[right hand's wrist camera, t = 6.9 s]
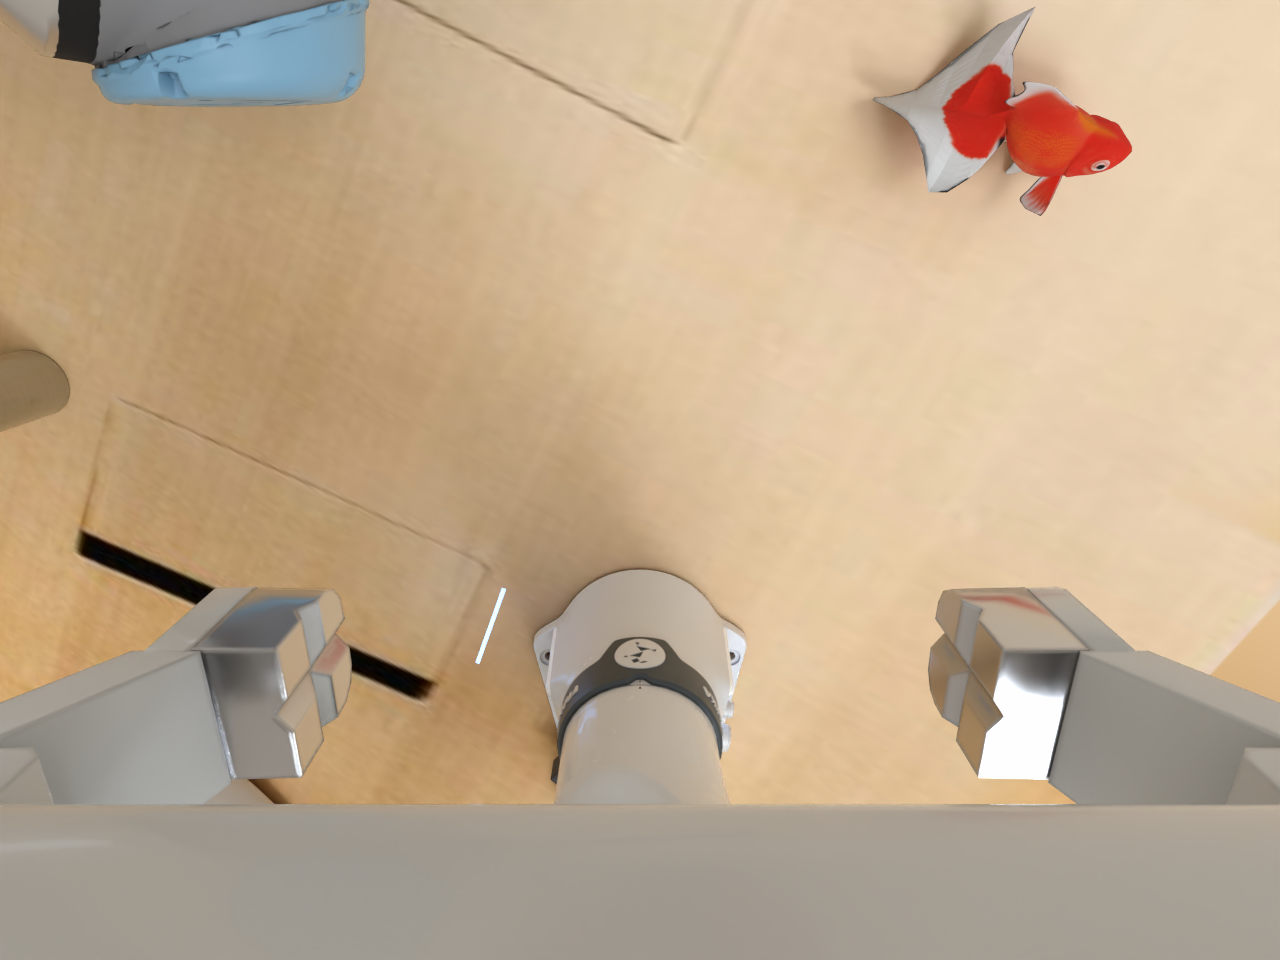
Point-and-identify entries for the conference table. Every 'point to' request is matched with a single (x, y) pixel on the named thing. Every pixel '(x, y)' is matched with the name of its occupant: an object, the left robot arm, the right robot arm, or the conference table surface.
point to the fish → (1004, 122)
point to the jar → (30, 388)
